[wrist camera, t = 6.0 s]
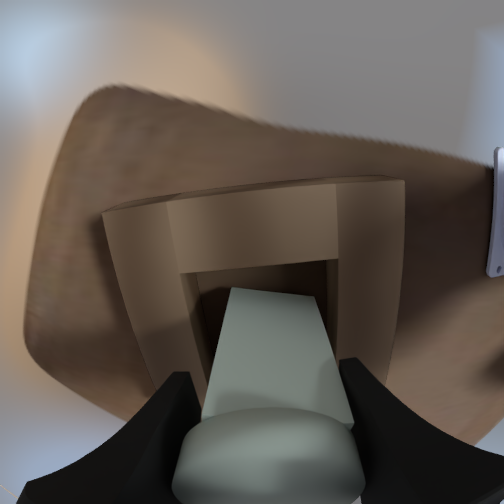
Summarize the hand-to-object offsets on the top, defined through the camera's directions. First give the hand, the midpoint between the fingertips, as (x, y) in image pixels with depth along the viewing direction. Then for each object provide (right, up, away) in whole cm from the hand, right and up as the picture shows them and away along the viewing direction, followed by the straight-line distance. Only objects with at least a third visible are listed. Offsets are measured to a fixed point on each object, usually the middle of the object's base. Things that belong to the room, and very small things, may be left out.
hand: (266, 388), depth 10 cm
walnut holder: (0, +2, +6) cm, 6 cm away
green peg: (0, +1, +5) cm, 5 cm away
